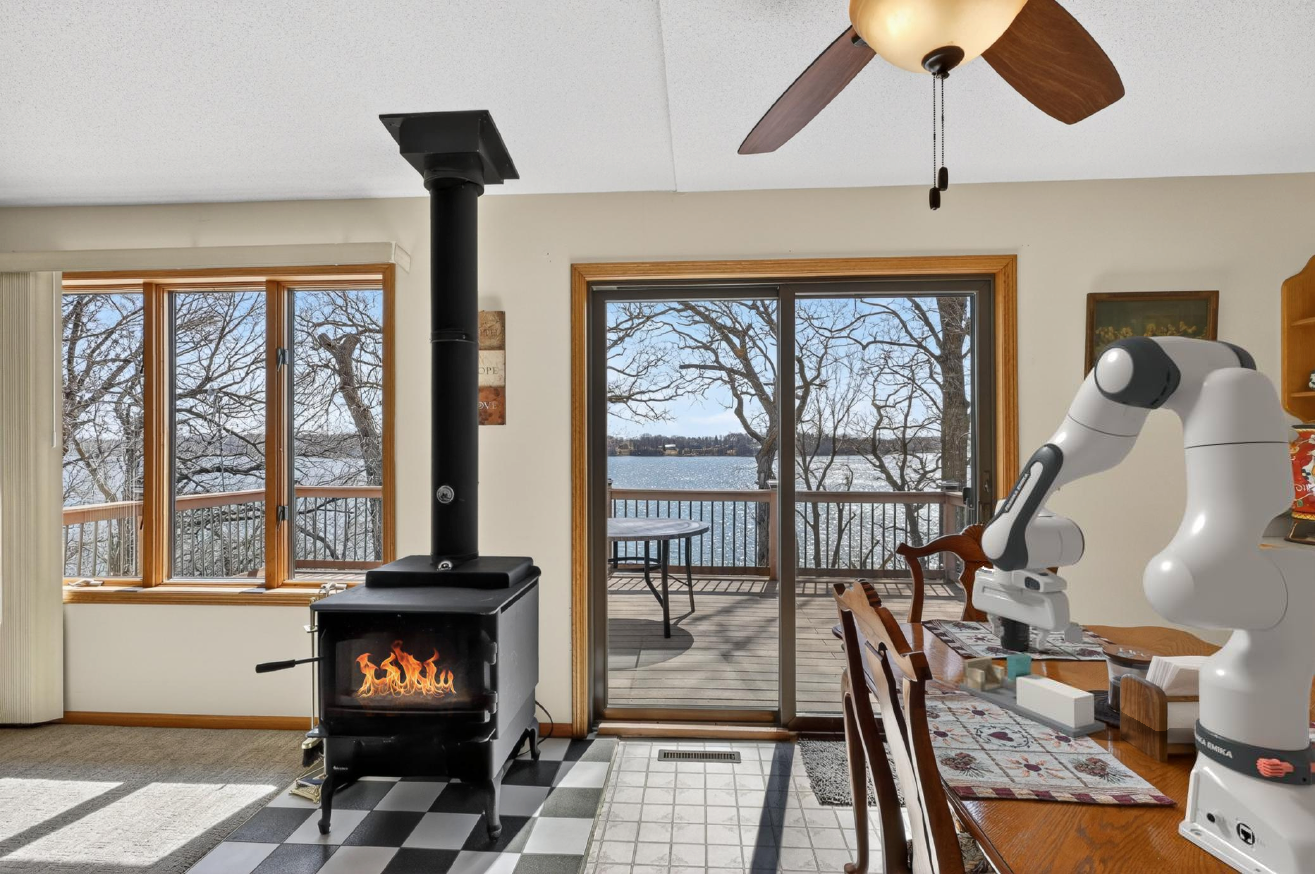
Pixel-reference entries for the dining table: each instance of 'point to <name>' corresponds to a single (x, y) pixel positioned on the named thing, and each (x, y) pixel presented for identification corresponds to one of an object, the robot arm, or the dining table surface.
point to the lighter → (1073, 633)
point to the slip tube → (1016, 670)
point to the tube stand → (1046, 704)
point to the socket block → (982, 674)
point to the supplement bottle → (1015, 635)
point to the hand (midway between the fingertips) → (1017, 641)
